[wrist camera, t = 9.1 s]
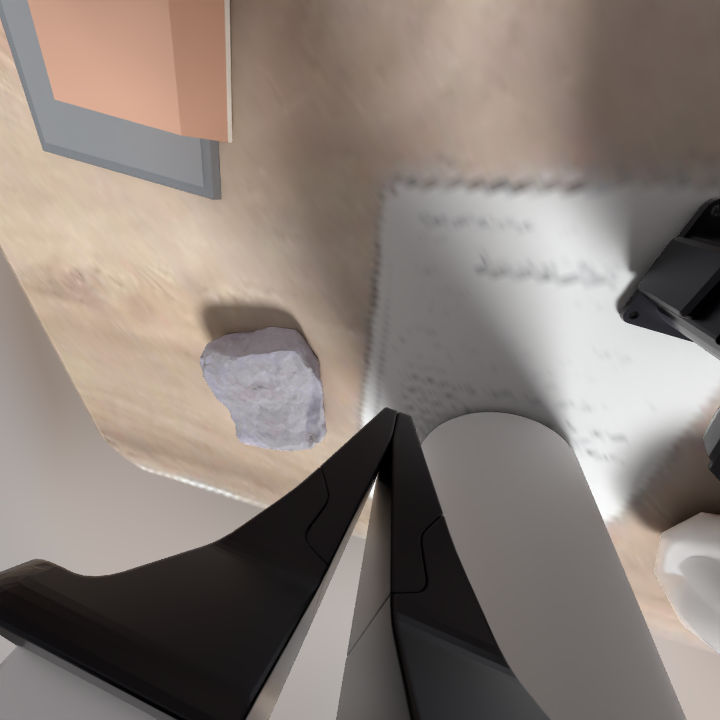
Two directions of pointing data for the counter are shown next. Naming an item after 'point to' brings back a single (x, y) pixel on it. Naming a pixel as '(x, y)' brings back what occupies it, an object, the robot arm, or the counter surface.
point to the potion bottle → (693, 574)
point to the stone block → (268, 387)
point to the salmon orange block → (142, 60)
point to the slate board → (105, 125)
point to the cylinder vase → (546, 569)
